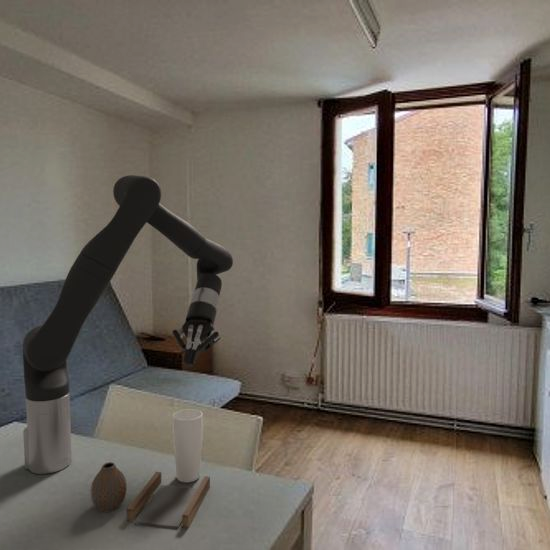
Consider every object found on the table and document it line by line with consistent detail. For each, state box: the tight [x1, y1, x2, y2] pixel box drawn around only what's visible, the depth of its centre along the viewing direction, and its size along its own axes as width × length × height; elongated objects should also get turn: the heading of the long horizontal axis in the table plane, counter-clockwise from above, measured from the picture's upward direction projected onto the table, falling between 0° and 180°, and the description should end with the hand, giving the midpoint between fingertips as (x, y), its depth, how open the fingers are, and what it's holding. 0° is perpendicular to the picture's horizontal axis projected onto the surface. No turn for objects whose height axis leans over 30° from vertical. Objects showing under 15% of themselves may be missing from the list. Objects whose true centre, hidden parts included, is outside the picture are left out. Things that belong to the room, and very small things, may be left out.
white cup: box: [172, 408, 204, 484], centre depth 105 cm, size 7×7×15 cm
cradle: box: [126, 471, 211, 529], centre depth 96 cm, size 12×14×2 cm
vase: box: [90, 461, 128, 513], centre depth 94 cm, size 7×7×9 cm
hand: (188, 365), depth 116 cm, fingers closed
